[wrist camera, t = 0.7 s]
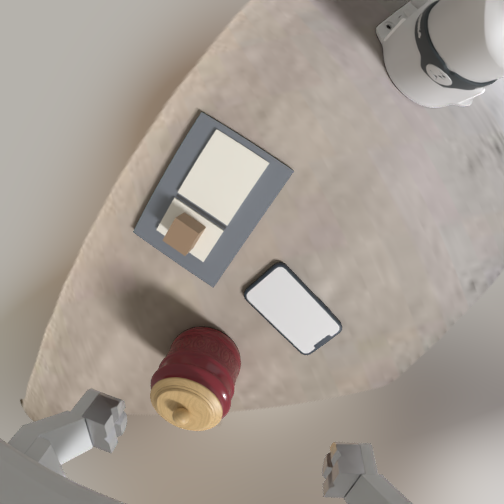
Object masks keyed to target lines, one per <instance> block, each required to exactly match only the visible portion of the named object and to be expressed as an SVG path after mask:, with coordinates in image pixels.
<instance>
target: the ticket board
mask: <svg viewBox="0 0 504 504" xmlns="http://www.w3.org/2000/svg"><path fill="white" fill-rule="evenodd" d="M293 172H294V171H293V170H292V169H290V168H289V167H288V166H286V165H285V164H283V163H282V162H280V161H279V160H277V159H276V158H274V157H273V156H271V155H270V154H268V153H267V152H265V151H264V150H262V149H261V148H259V147H258V146H256V145H255V144H253V143H251V142H250V141H248V140H247V139H245V138H244V137H242V136H240V135H239V134H237V133H236V132H234V131H233V130H231V129H229V128H228V127H226V126H224V125H223V124H221V123H220V122H218V121H216V120H215V119H213V118H211V117H210V116H208V115H206V114H205V113H203V112H201V114H200V115H199V117H198V118H197V120H196V122H195V123H194V125H193V126H192V128H191V129H190V131H189V133H188V134H187V136H186V138H185V139H184V141H183V142H182V144H181V146H180V147H179V149H178V151H177V152H176V154H175V156H174V158H173V159H172V161H171V163H170V164H169V166H168V168H167V170H166V171H165V173H164V175H163V177H162V178H161V180H160V182H159V184H158V186H157V187H156V189H155V191H154V193H153V195H152V196H151V198H150V200H149V202H148V204H147V206H146V208H145V210H144V211H143V213H142V215H141V217H140V219H139V221H138V223H137V225H136V227H135V229H134V231H133V232H134V233H135V234H136V235H138V236H139V237H141V238H142V239H143V240H145V241H146V242H148V243H149V244H150V245H152V246H153V247H155V248H156V249H158V250H159V251H160V252H162V253H163V254H165V255H166V256H168V257H169V258H170V259H172V260H173V261H175V262H176V263H178V264H179V265H181V266H182V267H184V268H185V269H186V270H188V271H189V272H191V273H192V274H194V275H195V276H197V277H198V278H200V279H201V280H203V281H204V282H206V283H207V284H209V285H210V286H212V287H214V286H215V284H216V283H217V282H218V280H219V279H220V277H221V276H222V274H223V273H224V271H225V270H226V268H227V267H228V265H229V264H230V263H231V261H232V260H233V258H234V257H235V255H236V254H237V252H238V251H239V250H240V248H241V247H242V245H243V244H244V242H245V241H246V239H247V238H248V236H249V235H250V234H251V232H252V231H253V229H254V228H255V226H256V225H257V224H258V222H259V221H260V219H261V218H262V216H263V215H264V213H265V212H266V211H267V209H268V208H269V206H270V205H271V203H272V202H273V200H274V199H275V198H276V196H277V195H278V193H279V192H280V190H281V189H282V188H283V186H284V185H285V183H286V182H287V180H288V179H289V178H290V176H291V175H292V173H293ZM175 197H176V198H177V199H179V200H180V201H182V202H183V203H185V204H186V205H187V206H189V207H190V208H192V209H193V210H195V211H196V212H198V213H199V214H201V215H202V216H204V217H205V218H207V219H208V220H210V221H211V222H213V223H214V224H216V225H217V226H219V227H220V228H222V229H223V230H224V232H223V233H222V235H221V236H220V238H219V239H218V241H217V242H216V244H215V245H214V247H213V248H212V250H211V251H210V253H209V255H208V256H207V258H206V259H205V261H204V262H202V261H201V260H199V259H198V258H196V257H195V256H193V255H192V254H191V253H188V254H187V255H186V256H184V255H183V254H181V253H180V252H178V251H177V250H176V249H174V248H173V247H171V246H170V245H168V244H167V243H165V242H164V241H163V238H164V237H165V236H164V235H163V234H161V233H160V232H159V231H157V228H158V226H159V224H160V222H161V220H162V219H163V217H164V215H165V213H166V212H167V210H168V208H169V206H170V204H171V203H172V201H173V199H174V198H175Z"/></svg>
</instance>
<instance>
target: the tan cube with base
mask: <svg viewBox="0 0 504 504" xmlns="http://www.w3.org/2000/svg"><path fill="white" fill-rule="evenodd" d="M157 231H159V232H160V233H161V234H163V235H164V236H165V237H164V238H163V241H164V242H165V243H167V244H168V245H170V246H171V247H173V248H174V249H176V250H177V251H178V252H180V253H181V254H183V255H184V256H186V255H187V254H188V253H191V254H192V255H193V256H195V257H196V258H198V259H199V260H201V261H202V262H204V261H205V259H206V258H207V256H208V255H209V253H210V251H211V250H212V248H213V247H214V245H215V244H216V242H217V241H218V239H219V238H220V236H221V235H222V233H223V232H224V230H223V229H222V228H220V227H219V226H217V225H216V224H214V223H213V222H211V221H210V220H208V219H207V218H205V217H204V216H202V215H201V214H199V213H198V212H196V211H195V210H193V209H192V208H190V207H189V206H187V205H186V204H185V203H183V202H182V201H180V200H179V199H177V198H176V197H175V198H174V199H173V201H172V203H171V204H170V206H169V208H168V210H167V212H166V213H165V215H164V217H163V219H162V220H161V222H160V224H159V226H158V228H157Z"/></svg>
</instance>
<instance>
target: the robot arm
mask: <svg viewBox="0 0 504 504" xmlns="http://www.w3.org/2000/svg"><path fill="white" fill-rule="evenodd" d="M386 26H389V27H390V29H388V28H387V27H386ZM376 34H377V36H378V38H379V40H380V42H381V44H382V46H383V55H384V62H385V66H386V69H387V72H388V74H389V76H390V78H391V80H392V81H393V83H394V84H395V85H396V87H397V88H398V89H399V90H400V91H401V92H402V93H403V94H404V95H405V96H406V97H408V98H409V99H410V100H412V101H414V102H416V103H418V104H420V105H422V106H426V107H431V108H441V107H445V106H448V105H457V106H461V107H467V106H469V105H471V103H472V100H473V97H475V96H478V95H480V94H482V93H483V92H484V91H485V89H484V88H485V87H487V86H488V85H490V84H492V83H494V82H495V81H496V80H497V79H499V78H503V77H504V0H411V1H409V2H408V3H407V4H405V5H404V6H403V7H401V8H400V9H399V10H397V11H396V12H395V13H393V14H392V15H391V16H390V17H388V18H387V19H386V20H384V21H383V22H382V23H381V24H379V25H378V26H377V27H376ZM124 409H125V401H123V400H120V399H118V398H115V397H112V396H110V395H107V394H105V393H102V392H99V391H97V390H94V389H92V388H91V389H89V390H87V391H86V393H85V394H84V395H83V396H82V398H81V399H80V400H79V401H78V403H77V404H76V405H75V407H74V408H73V409H72V410H71V412H69V411H65V412H62V413H59V414H56V415H53V416H50V417H47V418H44V419H41V420H38V421H35V422H32V423H29V424H26V425H23V426H22V427H21V428H20V429H19V431H18V432H17V433H16V434H15V435H14V436H13V437H12V439H11V440H10V441H9V442H8V443H6V442H5V441H3V440H2V439H0V504H126V503H123V502H121V501H118V500H115V499H113V498H110V497H108V496H105V495H103V494H101V493H98V492H96V491H94V490H92V489H89V488H87V487H85V486H83V485H80V484H78V483H76V482H74V481H72V480H70V479H68V478H66V475H65V473H64V471H63V469H62V467H61V464H63V463H65V462H67V461H69V460H71V459H72V458H74V457H76V456H78V455H80V454H82V453H84V452H86V451H87V450H89V449H91V448H92V447H96V448H99V449H101V450H104V451H106V452H109V453H112V452H113V450H114V448H115V446H116V445H117V443H118V440H117V437H118V436H120V435H122V434H123V432H124V430H125V427H126V424H127V414H126V413H125V412H124V411H123V410H124ZM322 475H323V476H324V478H325V479H326V480H325V481H324V483H323V497H334V498H335V497H336V498H344V500H345V501H346V503H347V504H412V503H411V502H410V501H409V500H408V499H407V498H406V497H405V496H404V495H403V494H402V493H401V492H400V491H398V490H397V489H396V488H395V487H394V486H393V485H392V484H391V483H390V482H389V481H388V480H387V479H386V478H385V477H384V476H383V475H382V474H378V472H377V467H376V462H375V458H374V452H373V448H372V445H371V444H370V443H345V442H334V443H332V445H331V447H330V453H328V454H327V455H326V457H325V459H324V462H323V468H322Z"/></svg>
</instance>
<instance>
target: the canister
mask: <svg viewBox="0 0 504 504" xmlns="http://www.w3.org/2000/svg"><path fill="white" fill-rule="evenodd" d="M240 367H241V360H240V353H239V350H238V348H237V346H236V345H235V343H234V342H233V341H232V340H231V339H230V338H229V337H228V336H227V335H225V334H224V333H222V332H220V331H218V330H216V329H213V328H208V327H194V328H190V329H187V330H185V331H184V332H183V333H181V334H180V335H179V336H178V337H177V338H176V339H175V340H174V342H173V343H172V345H171V348H170V350H169V352H168V354H167V355H166V357H165V358H164V359H163V360H162V362H161V363H160V365H159V368H158V370H157V371H156V372H155V373H154V375H153V376H152V379H151V393H150V398H151V402H152V405H153V407H154V409H155V410H156V411H157V413H158V414H159V415H160V416H161V417H163V418H164V419H165V420H166V421H168V422H169V423H171V424H173V425H175V426H177V427H179V428H183V429H187V430H193V431H202V430H207V429H210V428H213V427H214V426H216V425H217V424H218V423H219V422H220V420H221V419H222V418H224V417H225V416H226V415H227V413H228V412H229V410H230V406H231V399H232V397H233V394H234V386H235V382H236V379H237V376H238V374H239V371H240Z"/></svg>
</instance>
